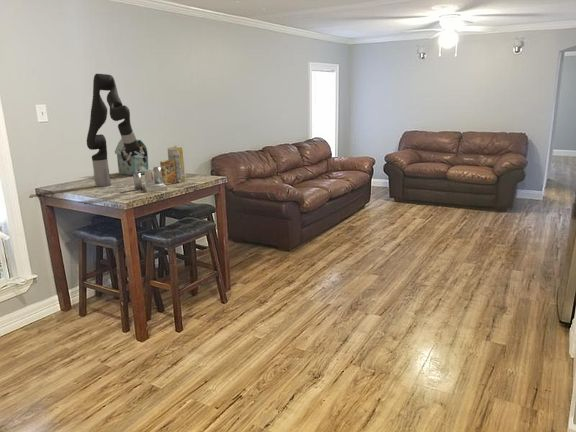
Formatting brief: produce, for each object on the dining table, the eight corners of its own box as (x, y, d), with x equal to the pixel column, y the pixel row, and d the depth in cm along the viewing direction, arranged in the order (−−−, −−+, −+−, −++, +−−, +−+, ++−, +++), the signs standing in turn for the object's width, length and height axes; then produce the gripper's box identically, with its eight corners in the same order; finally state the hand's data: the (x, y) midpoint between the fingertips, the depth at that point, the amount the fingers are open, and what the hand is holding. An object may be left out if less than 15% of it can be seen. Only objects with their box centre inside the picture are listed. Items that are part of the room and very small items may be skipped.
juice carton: (187, 180, 304) (184, 145, 298) (180, 182, 297) (176, 146, 291) (176, 179, 308) (173, 144, 302) (169, 182, 301) (165, 146, 295)
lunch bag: (115, 174, 340) (111, 138, 333) (135, 171, 352) (131, 136, 345) (132, 177, 325) (127, 139, 318) (152, 173, 337) (148, 137, 330)
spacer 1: (135, 190, 277) (133, 174, 274) (134, 189, 280) (132, 173, 278) (143, 189, 278) (141, 173, 276) (141, 188, 282) (139, 172, 280)
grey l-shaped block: (147, 192, 271) (144, 173, 268) (142, 188, 284) (140, 170, 281) (167, 189, 276) (165, 171, 273) (161, 185, 289) (160, 168, 286)
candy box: (166, 185, 291) (164, 161, 287) (162, 184, 293) (159, 161, 289) (176, 182, 298) (174, 159, 294) (172, 182, 300) (170, 159, 296)
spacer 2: (155, 184, 277) (153, 168, 274) (154, 183, 281) (152, 167, 278) (162, 183, 279) (161, 167, 276) (161, 182, 282) (159, 166, 280)
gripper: (141, 134, 262) (149, 158, 271) (116, 139, 259) (125, 163, 269) (141, 140, 256) (149, 164, 266) (116, 145, 254) (125, 169, 263)
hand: (137, 164), depth 267 cm, fingers open, 8 cm apart
